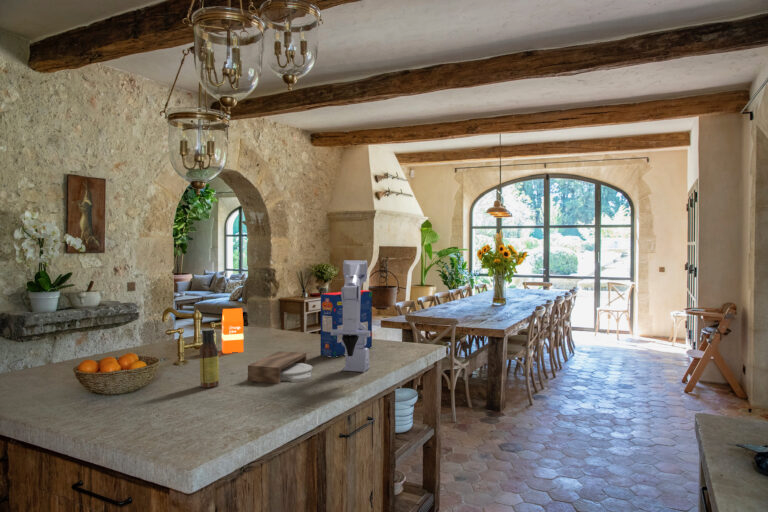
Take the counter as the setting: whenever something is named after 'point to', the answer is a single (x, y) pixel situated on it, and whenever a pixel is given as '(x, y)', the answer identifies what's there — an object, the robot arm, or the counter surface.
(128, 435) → the counter surface
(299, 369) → the lid
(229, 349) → the orange juice
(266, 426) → the counter surface
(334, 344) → the pasta box
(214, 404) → the counter surface
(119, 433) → the counter surface
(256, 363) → the brown slab
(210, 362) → the sauce bottle
